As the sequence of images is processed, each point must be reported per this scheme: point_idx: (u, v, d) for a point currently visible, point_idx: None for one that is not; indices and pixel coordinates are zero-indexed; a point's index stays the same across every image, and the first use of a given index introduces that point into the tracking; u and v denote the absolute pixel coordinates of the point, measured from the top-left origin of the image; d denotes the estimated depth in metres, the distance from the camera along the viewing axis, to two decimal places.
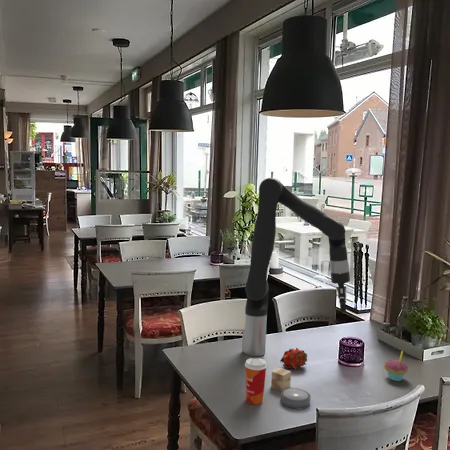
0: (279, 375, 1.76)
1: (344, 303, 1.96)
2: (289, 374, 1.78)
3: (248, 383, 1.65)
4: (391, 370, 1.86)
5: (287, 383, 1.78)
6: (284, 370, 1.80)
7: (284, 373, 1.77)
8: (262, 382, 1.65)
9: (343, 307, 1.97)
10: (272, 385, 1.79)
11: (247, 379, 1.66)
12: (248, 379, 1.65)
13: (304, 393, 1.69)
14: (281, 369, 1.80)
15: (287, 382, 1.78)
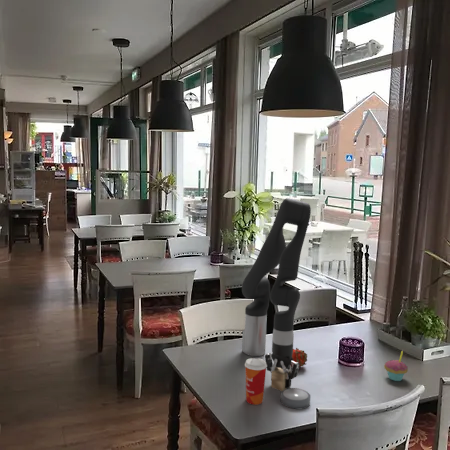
0: (279, 375, 1.76)
1: (271, 372, 1.81)
2: None
3: (248, 383, 1.65)
4: (391, 370, 1.86)
5: None
6: None
7: (284, 373, 1.77)
8: (262, 382, 1.65)
9: None
10: (272, 385, 1.79)
11: (247, 379, 1.66)
12: (248, 379, 1.65)
13: (304, 393, 1.69)
14: (281, 369, 1.80)
15: None
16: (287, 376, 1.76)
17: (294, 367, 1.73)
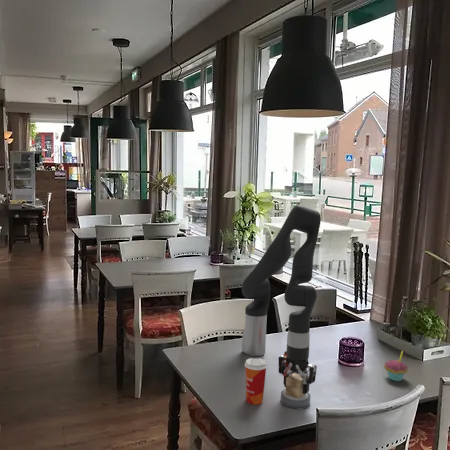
0: (294, 381, 1.65)
1: (283, 375, 1.70)
2: None
3: (248, 383, 1.65)
4: (391, 370, 1.86)
5: None
6: (299, 376, 1.68)
7: (300, 380, 1.65)
8: (262, 382, 1.65)
9: None
10: (286, 392, 1.67)
11: (247, 379, 1.66)
12: (248, 379, 1.65)
13: None
14: (296, 375, 1.69)
15: None
16: (305, 381, 1.64)
17: (311, 370, 1.62)
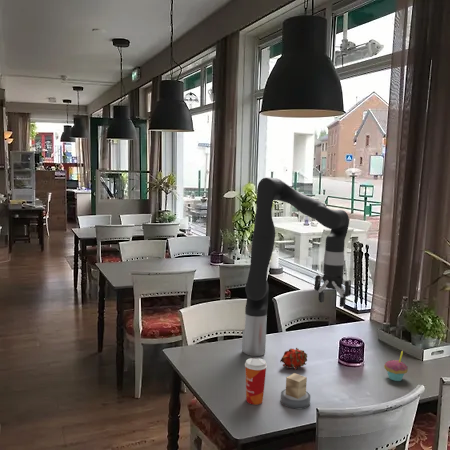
0: (294, 381, 1.65)
1: (318, 291, 1.91)
2: (305, 380, 1.67)
3: (248, 383, 1.65)
4: (391, 370, 1.86)
5: (303, 390, 1.67)
6: (299, 376, 1.68)
7: (300, 380, 1.65)
8: (262, 382, 1.65)
9: None
10: (286, 392, 1.67)
11: (247, 379, 1.66)
12: (248, 379, 1.65)
13: None
14: (296, 375, 1.69)
15: (303, 389, 1.67)
16: (341, 294, 1.84)
17: (346, 284, 1.82)
